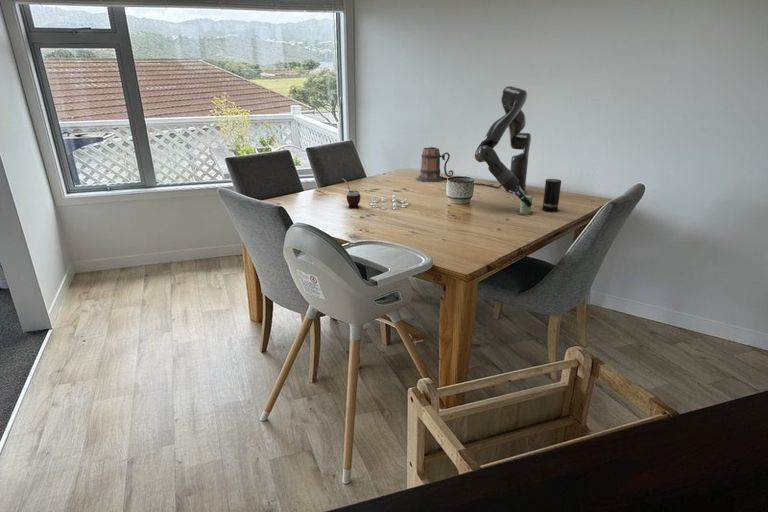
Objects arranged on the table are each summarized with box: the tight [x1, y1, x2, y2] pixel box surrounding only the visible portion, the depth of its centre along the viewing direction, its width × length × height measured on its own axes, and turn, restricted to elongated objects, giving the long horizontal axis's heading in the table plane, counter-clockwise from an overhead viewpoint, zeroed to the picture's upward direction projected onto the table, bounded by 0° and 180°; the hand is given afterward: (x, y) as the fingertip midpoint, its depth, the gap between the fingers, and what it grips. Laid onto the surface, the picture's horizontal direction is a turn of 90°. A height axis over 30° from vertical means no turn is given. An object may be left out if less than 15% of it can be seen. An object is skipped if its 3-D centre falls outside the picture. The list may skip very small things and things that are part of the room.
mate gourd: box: [341, 177, 361, 209], centre depth 238 cm, size 8×8×15 cm
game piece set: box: [369, 193, 410, 210], centre depth 245 cm, size 19×20×4 cm
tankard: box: [416, 146, 454, 183], centre depth 305 cm, size 24×17×20 cm
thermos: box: [542, 178, 562, 213], centre depth 233 cm, size 7×7×15 cm
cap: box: [519, 194, 533, 215], centre depth 230 cm, size 5×5×8 cm
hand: (529, 204), depth 230 cm, fingers closed on cap, 5 cm apart
